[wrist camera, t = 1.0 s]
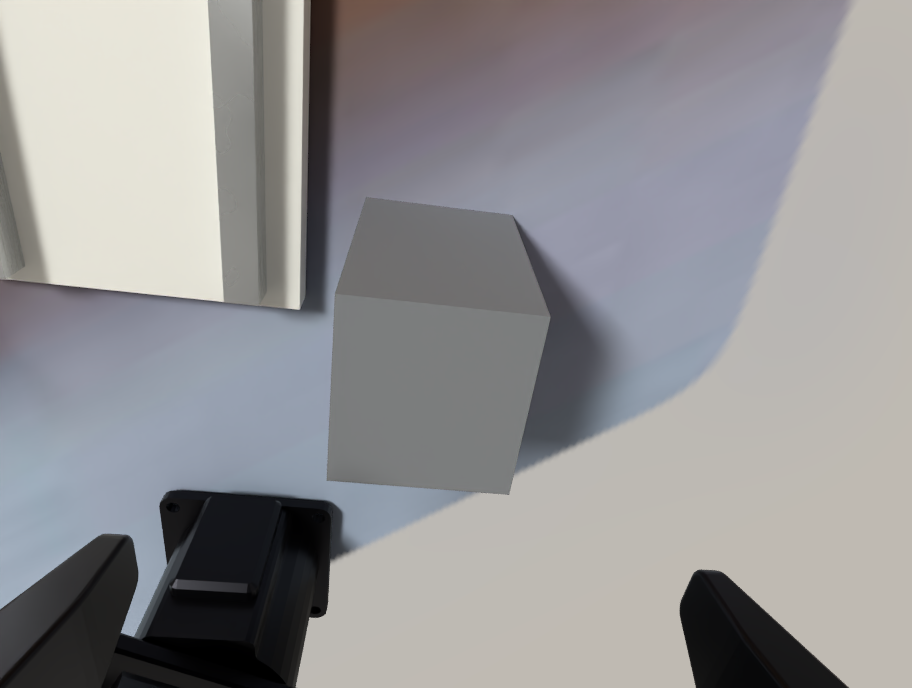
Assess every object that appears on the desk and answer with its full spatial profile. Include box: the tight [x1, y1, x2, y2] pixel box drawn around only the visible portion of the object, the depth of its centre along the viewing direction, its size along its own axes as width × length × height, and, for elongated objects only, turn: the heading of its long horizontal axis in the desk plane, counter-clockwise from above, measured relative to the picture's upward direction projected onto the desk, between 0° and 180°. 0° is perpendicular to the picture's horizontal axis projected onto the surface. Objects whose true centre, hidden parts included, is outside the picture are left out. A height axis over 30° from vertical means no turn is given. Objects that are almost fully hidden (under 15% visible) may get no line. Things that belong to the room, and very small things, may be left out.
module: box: [327, 197, 551, 495], centre depth 17 cm, size 5×4×7 cm
